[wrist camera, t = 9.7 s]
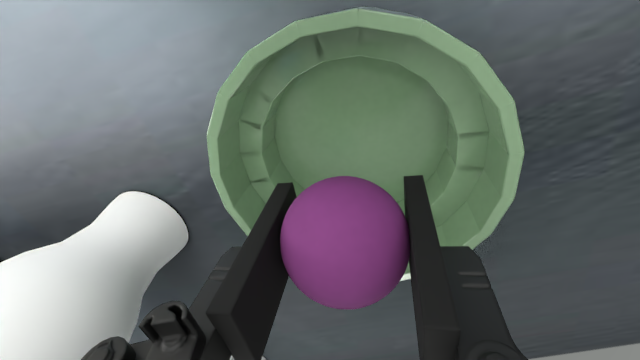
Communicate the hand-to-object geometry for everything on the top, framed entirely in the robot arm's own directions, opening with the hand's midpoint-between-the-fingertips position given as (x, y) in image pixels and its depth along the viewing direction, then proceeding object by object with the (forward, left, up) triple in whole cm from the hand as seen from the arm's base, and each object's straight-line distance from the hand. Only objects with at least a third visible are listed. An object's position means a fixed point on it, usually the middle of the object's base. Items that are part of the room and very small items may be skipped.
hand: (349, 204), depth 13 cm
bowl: (0, 0, -8) cm, 8 cm away
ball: (0, 0, 0) cm, 0 cm away
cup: (-21, -7, -8) cm, 24 cm away
